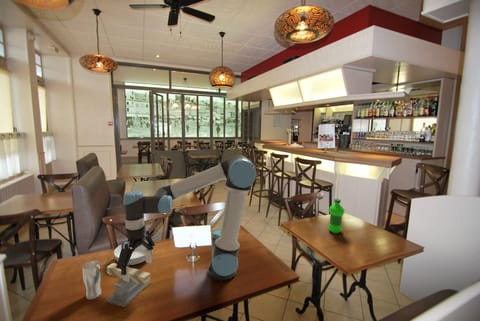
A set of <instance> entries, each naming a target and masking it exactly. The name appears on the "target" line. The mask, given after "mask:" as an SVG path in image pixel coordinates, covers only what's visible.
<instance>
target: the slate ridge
mask: <svg viewBox="0 0 480 321" xmlns="http://www.w3.org/2000/svg"><path fill="white" fill-rule="evenodd" d="M136 269H137V270H140V271H143V270H142V269H138V268H136ZM149 284H150V285H151V281H149V282H148V283H147V284H146V285H142V284H139V283H136V282H133V281H128V282H127V281H124V280H123V278H120V279H119V280H118V281H116V283H114V291H113V294H112V295H110V296H109V297H108V298H107V299H106V302H107V301H109V302H112V303H114V304H117V305H120V306H123V307H125V306H126V305H127V304H128V303H129V302H130V301H131V300H132V299H133V298H135V296H137V295H138V294H139V293H140V292H141V291H142V290H143V289H144V288H145V287H146V286H148V285H149ZM150 285H149V286H150ZM149 286H148V287H149ZM143 291H144V290H143ZM143 291H142V292H143ZM142 292H141V293H142ZM141 293H140V294H141ZM140 294H139V295H140ZM139 295H138V296H139ZM138 296H137V297H138ZM135 299H136V298H135ZM132 301H133V300H132ZM132 301H131V302H132ZM109 302H108V303H109ZM131 302H130V303H131ZM112 303H111V304H112ZM130 303H129V304H130ZM114 304H113V305H114ZM129 304H128V305H129ZM117 305H116V306H117ZM128 305H127V306H128ZM120 306H119V307H120ZM127 306H126V307H127ZM123 307H122V308H123ZM126 307H125V308H126Z"/></svg>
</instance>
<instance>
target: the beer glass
mask: <svg viewBox="0 0 480 321" xmlns="http://www.w3.org/2000/svg"><path fill="white" fill-rule="evenodd" d="M82 279H83V283H84V285H85V289H86V295H85V297H86V299H87V300H94V298H95V299H97V298H99V297H100V296H101V295H102V293H101V292H102V288H101V279H102V269H101V263H100V261H98V260H92V261H88V262H86V263H84V264H83V265H82ZM100 294H101V295H100ZM99 295H100V296H99ZM98 296H99V297H98ZM96 297H97V298H96Z"/></svg>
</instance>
